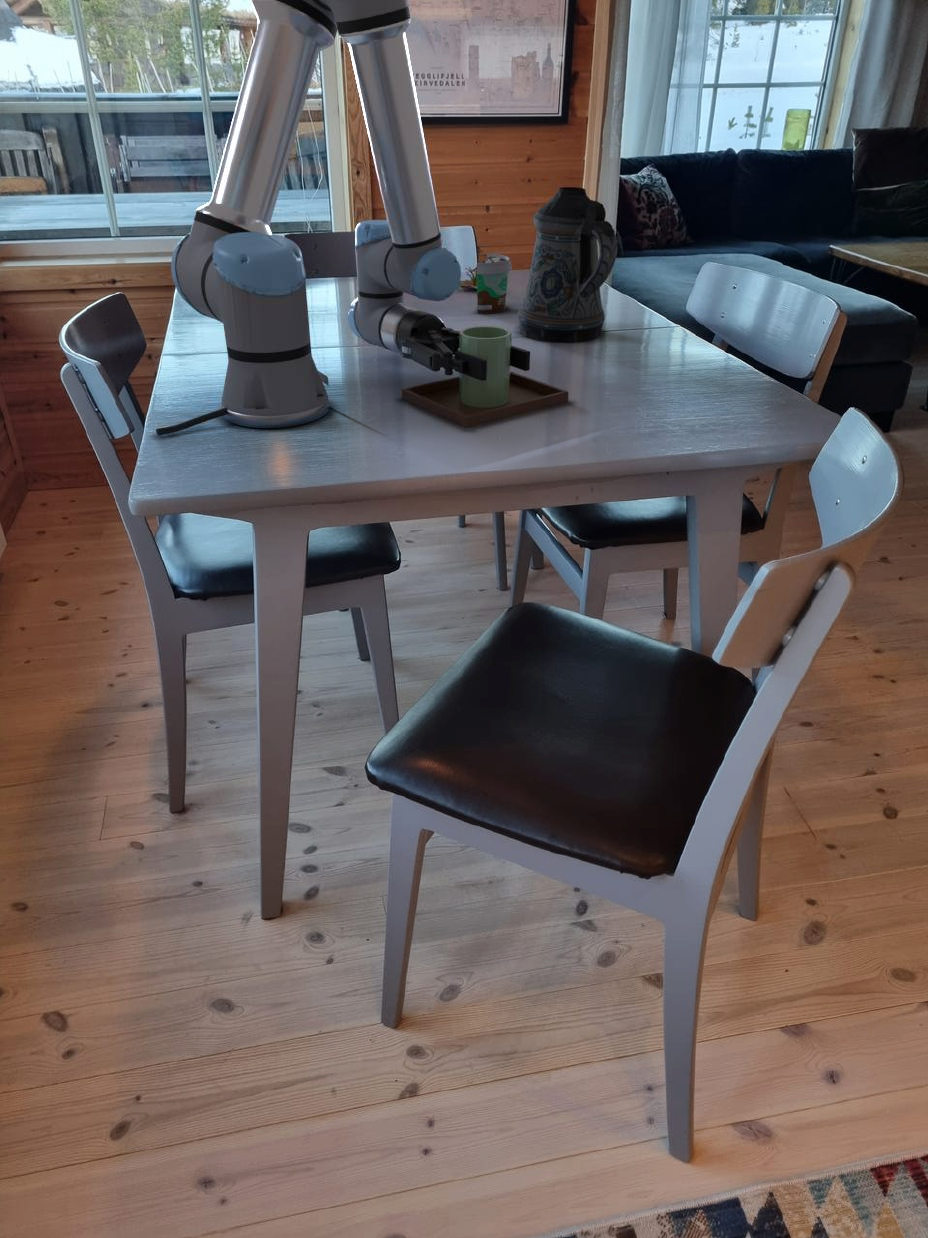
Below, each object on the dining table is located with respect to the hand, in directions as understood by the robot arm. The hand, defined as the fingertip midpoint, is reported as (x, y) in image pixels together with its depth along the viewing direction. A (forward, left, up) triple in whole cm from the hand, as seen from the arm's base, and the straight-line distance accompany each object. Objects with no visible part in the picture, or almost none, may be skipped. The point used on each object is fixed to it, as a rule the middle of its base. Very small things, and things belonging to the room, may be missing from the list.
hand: (506, 365), depth 125 cm
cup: (0, +5, -6) cm, 8 cm away
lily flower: (+51, +72, -7) cm, 88 cm away
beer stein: (+39, +28, -7) cm, 48 cm away
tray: (0, +5, -6) cm, 8 cm away
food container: (+41, +52, -7) cm, 66 cm away
